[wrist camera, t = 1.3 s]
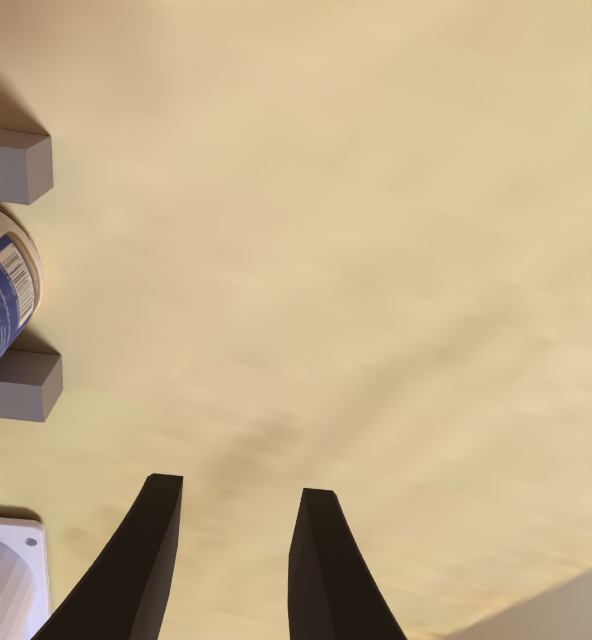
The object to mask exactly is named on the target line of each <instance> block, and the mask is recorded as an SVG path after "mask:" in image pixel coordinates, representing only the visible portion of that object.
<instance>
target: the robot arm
mask: <svg viewBox="0 0 592 640" xmlns="http://www.w3.org/2000/svg"><path fill="white" fill-rule="evenodd" d="M182 487H183V476H176V475H165V474H155V473H153V474H151V475H150V476H148V477H147V479H146V481H145V483H144V485H143V487H142V489H141V491H140V493H139V495H138V496H137V498H136V500H135V502H134V503H133V505H132V507H131V508H130V510H129V512H128V513H127V515H126V516H125V518H124V519H123V521H122V523H121V524H120V526H119V527H118V529H117V530H116V532H115V533H114V534H113V536H112V537H111V539H110V540H109V542H108V543H107V544H106V546H105V547H104V549H103V550H102V552H101V553H100V554H99V556H98V557H97V559H96V560H95V561H94V563H93V564H92V565H91V567H90V568H89V569H88V571H87V572H86V573H85V574H84V576H83V577H82V578H81V580H80V581H79V582H78V583H77V585H76V586H75V587H74V588H73V590H72V591H71V592H70V594H69V595H68V596H67V597H66V599H65V600H64V601H63V602H62V604H61V605H60V606H59V607H58V608H57V609H56V611H55V612H54V613H53V614H52V615H51V604H50V591H49V578H48V565H47V552H46V539H45V528H44V526H43V525H42V524H41V523H40V522H38V521H35V520H25V519H14V518H2V517H0V640H157V639H158V635H159V632H160V628H161V624H162V620H163V617H164V613H165V609H166V605H167V602H168V598H169V593H170V587H171V582H172V576H173V570H174V564H175V558H176V552H177V546H178V536H179V523H180V511H181V499H182ZM288 618H289V631H290V640H407V638H406V636H405V635H404V633H403V631H402V630H401V628H400V626H399V625H398V623H397V621H396V619H395V618H394V616H393V614H392V612H391V611H390V609H389V607H388V605H387V604H386V602H385V600H384V598H383V596H382V594H381V593H380V591H379V589H378V587H377V585H376V583H375V581H374V579H373V577H372V575H371V573H370V571H369V569H368V567H367V565H366V563H365V561H364V559H363V557H362V555H361V553H360V551H359V549H358V547H357V544H356V542H355V540H354V538H353V535H352V533H351V531H350V529H349V526H348V524H347V521H346V519H345V517H344V514H343V512H342V509H341V506H340V504H339V501H338V498H337V495H336V494H335V493H334V492H333V491H332V490H321V489H311V488H303V493H302V497H301V502H300V506H299V511H298V515H297V520H296V525H295V529H294V534H293V538H292V543H291V547H290V552H289V566H288Z"/></svg>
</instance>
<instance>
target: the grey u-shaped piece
mask: <svg viewBox="0 0 592 640" xmlns="http://www.w3.org/2000/svg"><path fill="white" fill-rule="evenodd" d="M51 188H53V169H52V148H51V136H45V135H38V134H32V133H25V132H18V131H12V130H5V129H0V201H2V202H9V203H16V204H24V205H30V204H32V203H33V202H34V201H36V200H37V199H38V198H39V197H41V196H42V195H43V194H45V193H46V192H47V191H49V190H50V189H51ZM62 391H63V381H62V360H61V356H60V355H52V354H43V353H34V352H25V351H17V350H8V349H7V350H6V351H5V352H4V354H3V355H2V356H1V357H0V418H5V419H15V420H24V421H34V422H45V420H46V419H47V417H48V415H49V413H50V412H51V410H52V408H53V406H54V405H55V403H56V401H57V399H58V398H59V396H60V394H61V392H62Z"/></svg>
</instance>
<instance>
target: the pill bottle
mask: <svg viewBox="0 0 592 640" xmlns="http://www.w3.org/2000/svg"><path fill="white" fill-rule="evenodd" d="M43 290H44V275H43V269H42V265H41V262H40V259H39V257H38V254H37V252H36V250H35V248H34V246H33V244H32V242H31V241H30V240H29V238H28V237H27V235H26V234H25V233H24V232H23V231H22V230H21V229H20V228H19V227H18V226H17V225H16V224H15V223H14V222H13V221H12V220H11V219H9V218H8V217H7V216H6V215H4V214H3V213H2V212H0V357H1V356H2V355H3V354H4V352H5V351H6V350H7V348H8V347H9V346H10V345H11V343H12V342H13V341H14V340H15V338H16V337H17V336H18V335H19V333H20V332H21V331H22V330H23V328H24V327H25V326H26V324H27V323H28V322H29V321H30V319H31V317H32V316H33V315H34V313H35V312H36V310H37V309H38V307H39V305H40V302H41V299H42V296H43Z"/></svg>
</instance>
